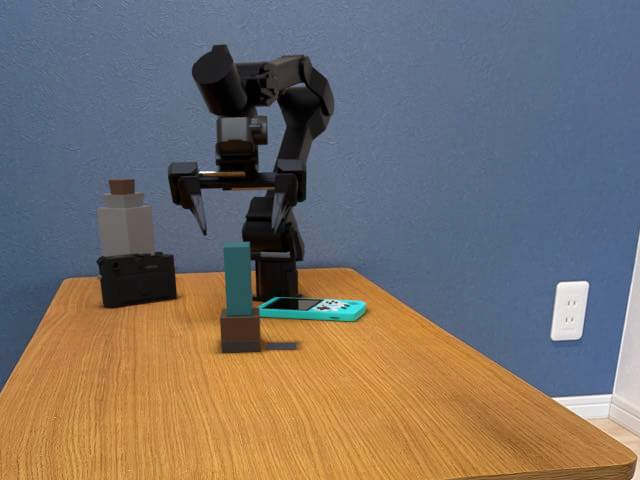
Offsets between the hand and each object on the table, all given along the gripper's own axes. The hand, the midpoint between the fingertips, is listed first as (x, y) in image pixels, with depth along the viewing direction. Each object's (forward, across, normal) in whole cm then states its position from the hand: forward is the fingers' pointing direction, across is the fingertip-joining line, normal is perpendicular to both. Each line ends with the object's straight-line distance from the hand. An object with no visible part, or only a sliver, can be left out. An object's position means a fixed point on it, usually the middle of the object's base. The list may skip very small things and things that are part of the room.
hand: (238, 232), depth 115 cm
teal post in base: (+15, 0, +4) cm, 16 cm away
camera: (-9, -19, +28) cm, 35 cm away
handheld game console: (+1, +10, +19) cm, 21 cm away
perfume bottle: (-20, -22, +39) cm, 49 cm away
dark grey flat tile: (+15, +5, +4) cm, 17 cm away
